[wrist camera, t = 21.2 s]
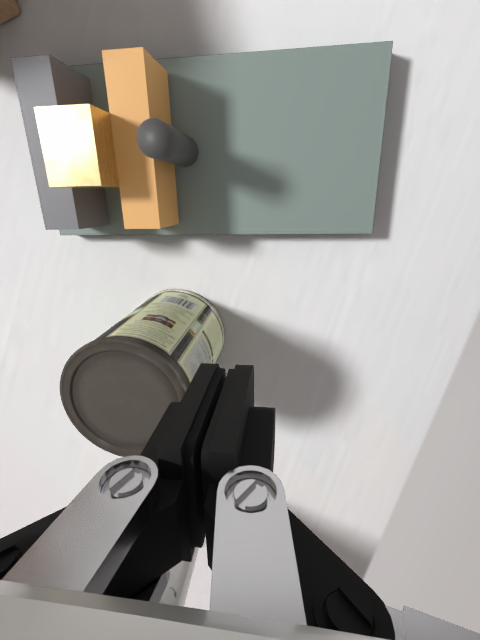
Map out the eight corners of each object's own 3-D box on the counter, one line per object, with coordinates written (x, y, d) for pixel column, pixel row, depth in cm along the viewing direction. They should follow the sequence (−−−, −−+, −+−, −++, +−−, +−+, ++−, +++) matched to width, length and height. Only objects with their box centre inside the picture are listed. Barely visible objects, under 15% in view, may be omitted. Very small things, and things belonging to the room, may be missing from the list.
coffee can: (151, 378, 41) (86, 464, 28) (125, 296, 38) (38, 349, 25) (234, 368, 39) (206, 455, 26) (214, 281, 36) (170, 330, 23)
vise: (367, 231, 32) (388, 240, 25) (72, 233, 36) (21, 241, 29) (386, 51, 27) (417, 3, 21) (43, 76, 31) (-25, 43, 25)
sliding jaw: (204, 223, 32) (178, 231, 24) (148, 224, 32) (108, 232, 25) (196, 69, 28) (162, 25, 20) (132, 74, 28) (78, 32, 21)
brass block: (145, 187, 32) (101, 185, 24) (105, 188, 32) (49, 186, 25) (139, 126, 30) (89, 103, 22) (96, 128, 30) (34, 107, 23)
